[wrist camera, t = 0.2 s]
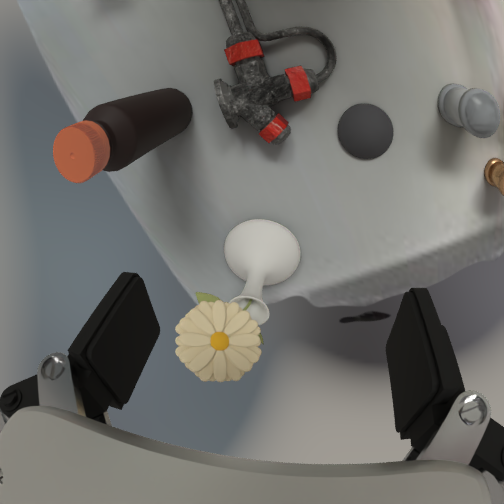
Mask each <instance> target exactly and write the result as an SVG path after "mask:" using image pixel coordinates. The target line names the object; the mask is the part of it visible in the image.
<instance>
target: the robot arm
mask: <svg viewBox="0 0 504 504" xmlns="http://www.w3.org/2000/svg"><path fill="white" fill-rule="evenodd" d="M159 334H160V326H159V323H158V321H157V318H156V316H155V313H154V310H153V307H152V304H151V302H150V299H149V296H148V293H147V290H146V287H145V284H144V281H143V279H142V278H141V277H140V276H139V275H138V274H137V273H129V272H123V273H122V274H121V275H120V276H119V277H118V279H117V280H116V281H115V283H114V284H113V285H112V287H111V288H110V290H109V291H108V292H107V294H106V295H105V296H104V298H103V299H102V301H101V302H100V303H99V305H98V306H97V308H96V309H95V310H94V312H93V313H92V315H91V316H90V318H89V319H88V321H87V322H86V324H85V325H84V327H83V328H82V330H81V331H80V333H79V334H78V335H77V337H76V338H75V340H74V341H73V343H72V345H71V346H70V348H69V349H68V351H69V355H68V356H66V355H65V354H63V353H58V352H56V353H52V354H50V355H48V356H46V357H45V358H44V359H43V360H42V361H41V363H40V365H39V367H38V372H37V375H35V376H32V377H30V378H28V379H25V380H23V381H21V382H18V383H16V384H14V385H11V386H10V387H8V388H7V389H5V390H4V391H3V393H2V395H1V397H0V504H504V427H503V426H501V425H500V424H499V423H497V422H496V421H494V420H493V419H492V418H490V417H491V407H490V404H489V402H488V400H487V399H486V397H484V395H482V394H481V393H479V392H477V391H471V390H469V391H465V388H464V385H463V381H462V377H461V374H460V370H459V367H458V363H457V360H456V357H455V354H454V351H453V348H452V345H451V342H450V339H449V336H448V333H447V330H446V328H445V327H444V326H443V325H441V323H440V320H439V318H438V315H437V312H436V309H435V307H434V304H433V302H432V299H431V296H430V294H429V292H428V290H427V289H426V288H411V289H410V290H409V292H405V294H404V296H403V299H402V302H401V305H400V309H399V311H398V314H397V317H396V320H395V322H394V325H393V328H392V330H391V333H390V336H389V338H388V341H387V344H386V355H387V362H388V368H389V375H390V382H391V390H392V398H393V407H394V417H395V427H396V431H397V432H398V433H399V432H400V437H401V440H402V439H411V446H412V448H411V450H410V451H409V452H408V454H407V455H406V457H405V458H404V459H403V461H398V462H386V463H370V464H335V465H334V464H298V463H297V464H296V463H283V462H271V461H261V460H253V459H245V458H238V457H231V456H225V455H219V454H213V453H208V452H202V451H198V450H193V449H188V448H184V447H180V446H176V445H172V444H168V443H164V442H160V441H157V440H153V439H150V438H146V437H143V436H139V435H136V434H133V433H130V432H127V431H123V430H121V429H118V428H115V427H112V426H111V422H110V419H109V416H108V413H107V409H108V406H111V407H114V408H118V409H121V410H122V407H123V405H124V404H126V403H127V402H128V401H129V399H130V397H131V395H132V392H133V390H134V388H135V385H136V383H137V381H138V379H139V377H140V375H141V372H142V370H143V368H144V366H145V364H146V362H147V360H148V357H149V355H150V353H151V351H152V349H153V347H154V345H155V343H156V340H157V339H158V337H159Z"/></svg>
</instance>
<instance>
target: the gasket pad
mask: <svg viewBox="0 0 504 504" xmlns="http://www.w3.org/2000/svg"><path fill="white" fill-rule="evenodd" d="M338 135H339V139H340V141H341V143H342V145H343V146H344V148H345V149H346V150H347V151H348V152H349V153H351V154H352V155H354V156H356V157H359V158H363V159H371V158H375V157H378V156H380V155H381V154H383V153H384V152H385V151H386V150H387V149H388V148H389V146H390V144H391V142H392V139H393V126H392V123H391V120H390V118H389V117H388V115H387V114H386V113H385V112H384V111H383V110H381V109H380V108H378V107H376V106H374V105H371V104H358V105H355V106H352V107H350V108H349V109H348V110H346V111H345V112H344V114H343V115H342V117H341V119H340V121H339V124H338Z"/></svg>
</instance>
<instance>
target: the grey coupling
mask: <svg viewBox="0 0 504 504" xmlns="http://www.w3.org/2000/svg"><path fill="white" fill-rule="evenodd" d="M438 108H439V111H440V113H441V115H442V117H443V118H444V119H445V120H446V121H447V122H448V123H450V124H452V125H454V126H457V127H464V128H465V129H466V130H467V131H468V132H469V133H470V134H472V135H474V136H476V137H479V138H487V137H490V136H491V135H493V134H494V133H495V132H496V130H497V128H498V126H499V123H500V109H499V106H498V103H497V101H496V99H495V98H494V97H493V96H492V95H491V94H490V93H489V92H488V91H486V90H483V89H478V88H472V89H467V88H466V87H464V86H462V85H459V84H448V85H446V86H445V87H444V88H443V89H442V90H441V91H440V93H439V96H438Z"/></svg>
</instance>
